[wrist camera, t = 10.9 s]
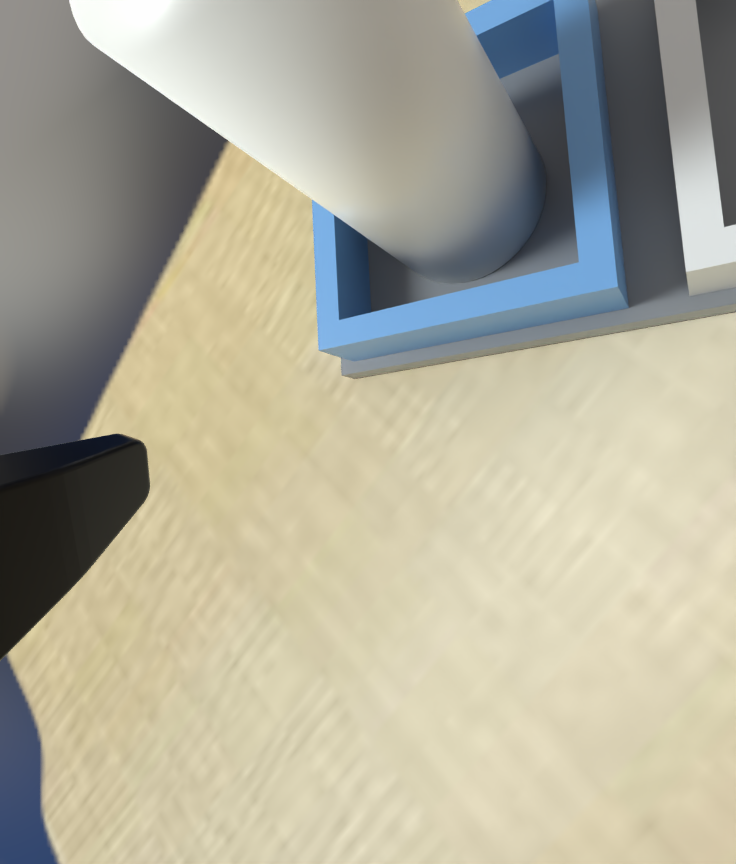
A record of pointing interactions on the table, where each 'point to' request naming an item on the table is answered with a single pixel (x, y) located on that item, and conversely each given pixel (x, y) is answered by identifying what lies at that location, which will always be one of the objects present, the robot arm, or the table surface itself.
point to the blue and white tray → (572, 193)
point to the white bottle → (351, 113)
